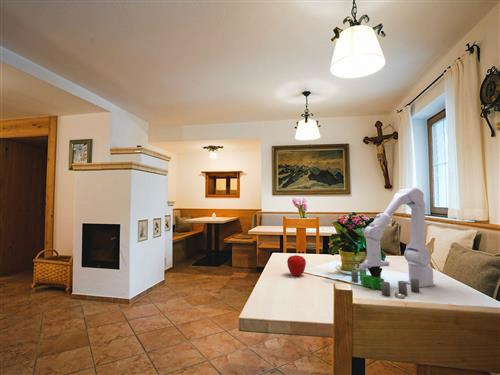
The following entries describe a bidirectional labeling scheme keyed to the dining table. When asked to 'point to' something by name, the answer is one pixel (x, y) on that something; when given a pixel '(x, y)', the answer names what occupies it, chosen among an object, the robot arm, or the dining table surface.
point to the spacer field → (386, 285)
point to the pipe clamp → (371, 281)
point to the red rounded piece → (296, 265)
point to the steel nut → (399, 295)
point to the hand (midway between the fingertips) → (375, 283)
